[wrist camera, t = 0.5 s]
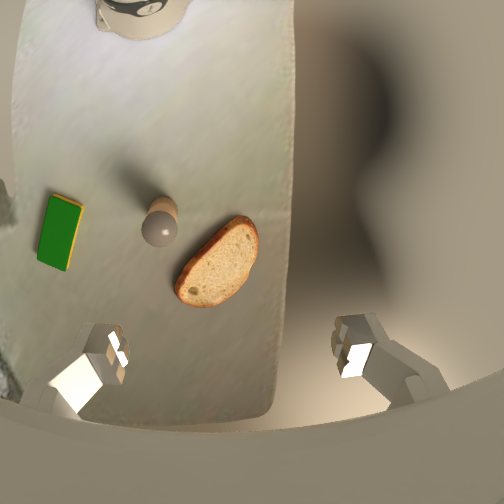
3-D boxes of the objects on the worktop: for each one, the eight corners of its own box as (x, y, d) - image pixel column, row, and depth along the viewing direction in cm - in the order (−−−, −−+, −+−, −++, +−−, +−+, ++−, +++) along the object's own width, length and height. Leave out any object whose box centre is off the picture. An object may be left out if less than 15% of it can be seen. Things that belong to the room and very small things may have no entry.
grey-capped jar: (144, 203, 51) (135, 221, 41) (171, 191, 52) (168, 206, 42) (156, 229, 54) (150, 252, 44) (182, 217, 54) (182, 238, 44)
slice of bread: (255, 212, 57) (260, 218, 54) (262, 292, 65) (267, 301, 61) (161, 228, 54) (160, 235, 51) (180, 308, 62) (180, 318, 58)
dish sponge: (40, 254, 50) (36, 259, 48) (54, 192, 46) (49, 195, 44) (68, 267, 53) (65, 272, 50) (85, 205, 49) (81, 208, 47)
